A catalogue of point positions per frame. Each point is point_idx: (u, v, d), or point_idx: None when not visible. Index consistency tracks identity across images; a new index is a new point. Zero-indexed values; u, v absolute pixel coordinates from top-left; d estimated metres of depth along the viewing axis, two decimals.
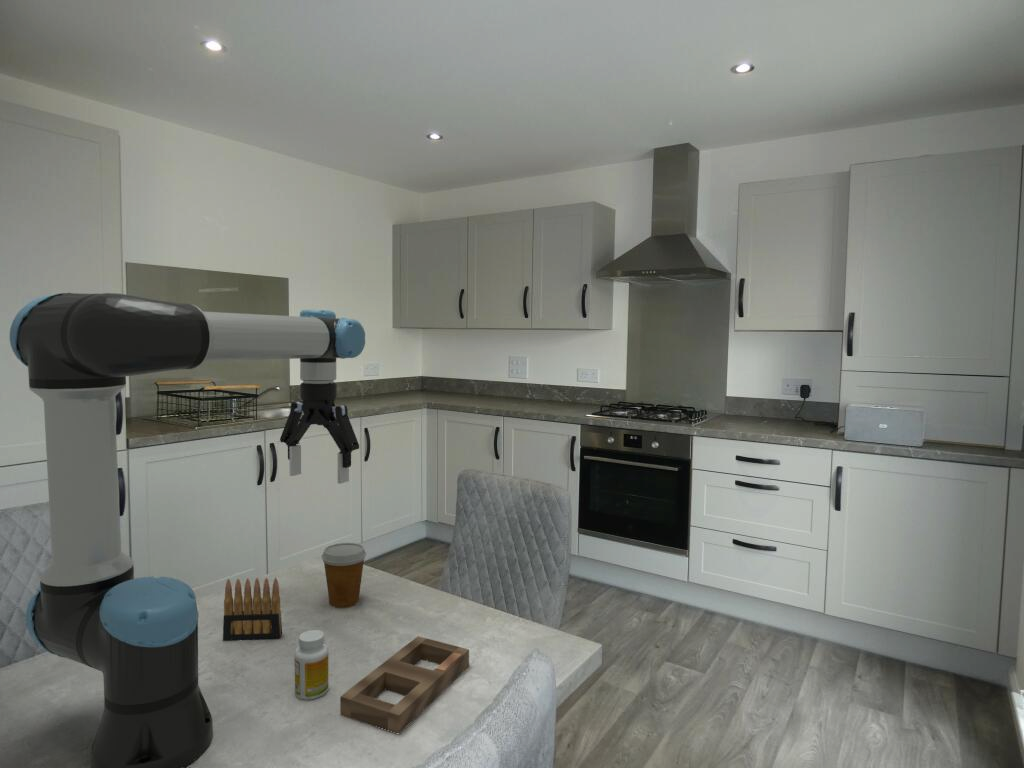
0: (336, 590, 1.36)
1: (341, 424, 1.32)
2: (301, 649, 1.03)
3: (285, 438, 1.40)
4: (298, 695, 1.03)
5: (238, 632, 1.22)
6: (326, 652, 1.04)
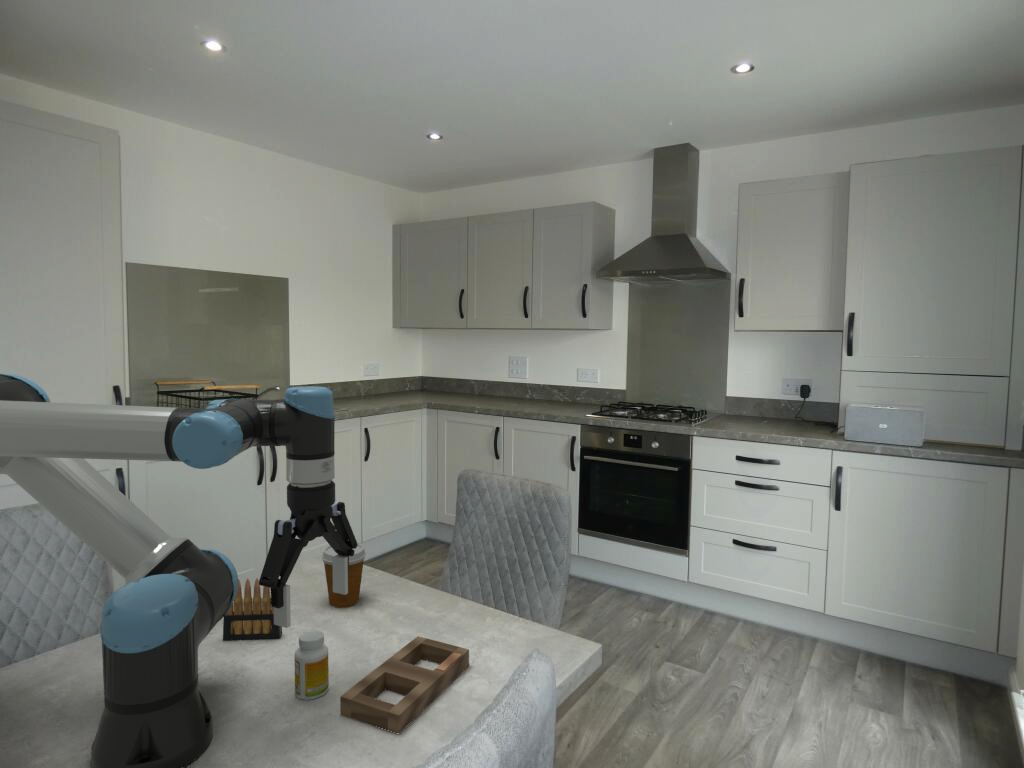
0: None
1: None
2: (301, 649, 1.03)
3: None
4: (298, 695, 1.03)
5: (238, 632, 1.22)
6: (326, 652, 1.04)
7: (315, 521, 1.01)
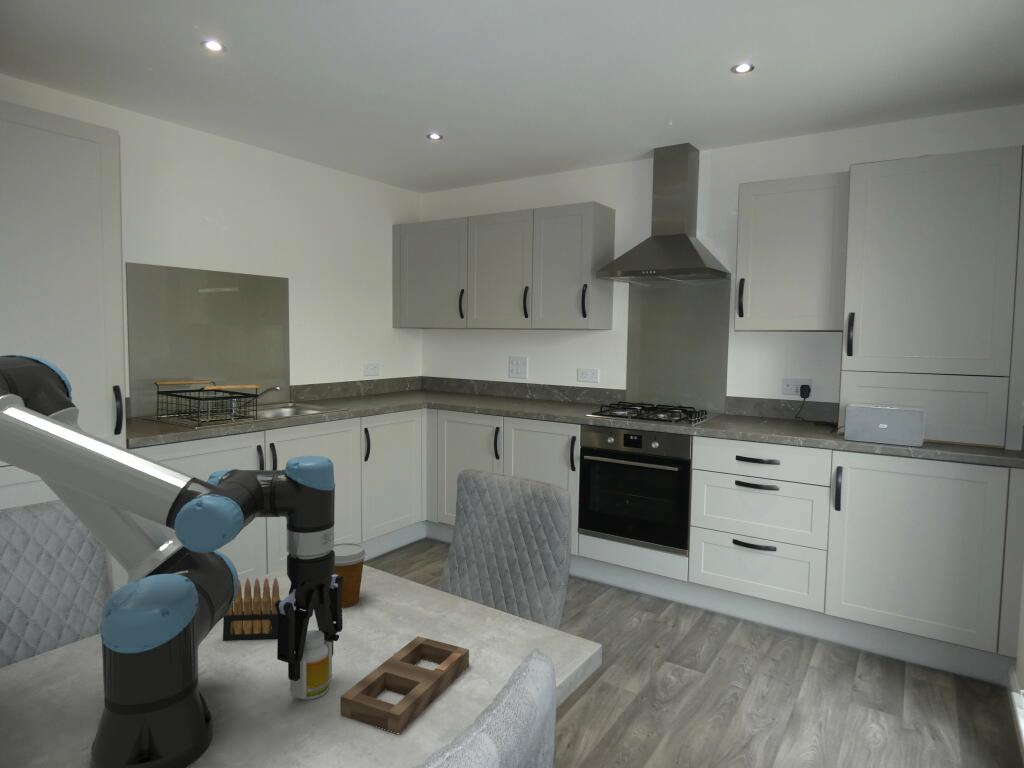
0: None
1: None
2: None
3: None
4: None
5: (238, 632, 1.22)
6: (326, 652, 1.04)
7: (314, 592, 1.01)
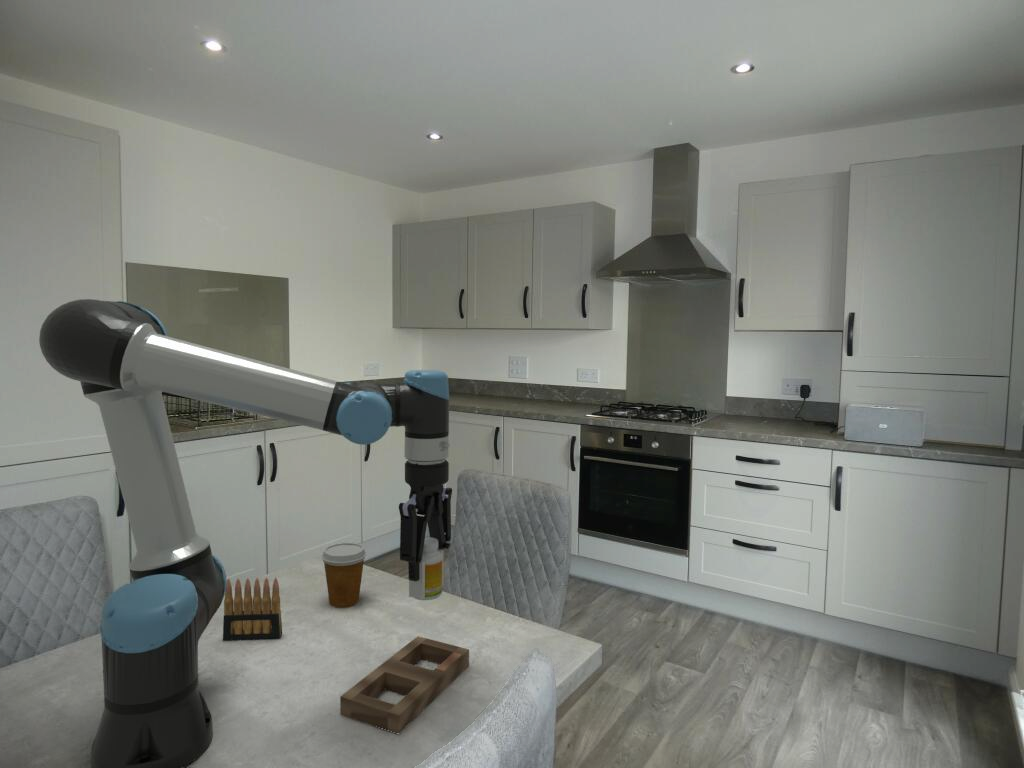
0: (336, 590, 1.36)
1: None
2: None
3: None
4: None
5: (238, 632, 1.22)
6: (441, 556, 1.09)
7: (431, 497, 1.07)
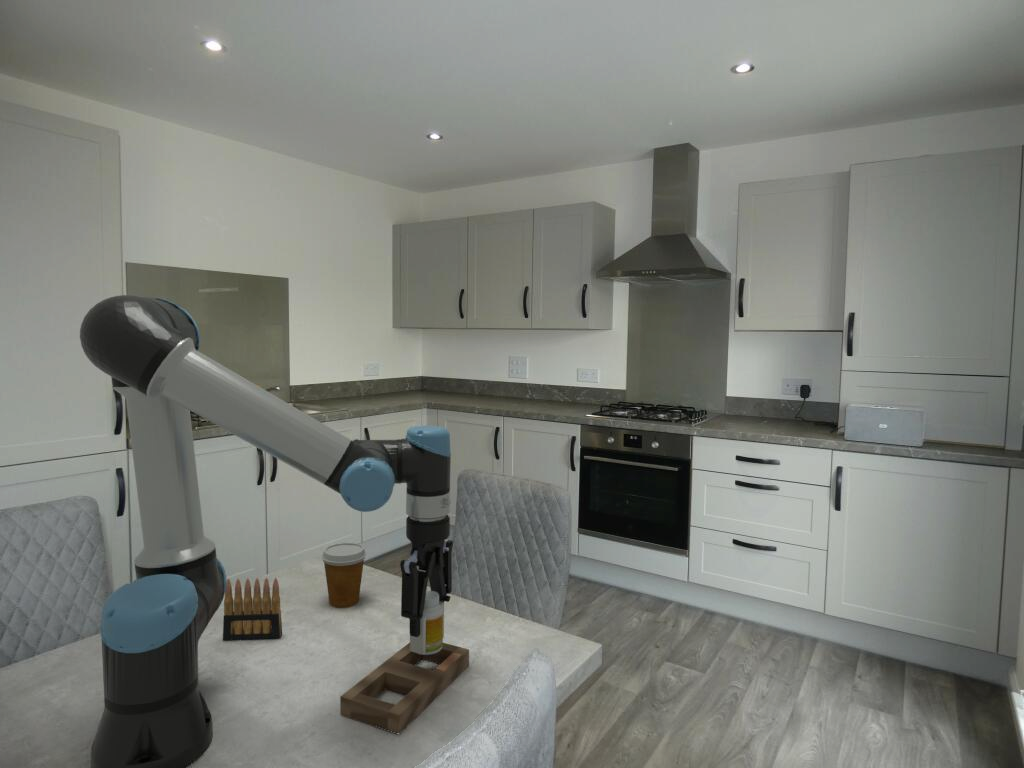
0: (336, 590, 1.36)
1: None
2: None
3: None
4: None
5: (238, 632, 1.22)
6: (442, 611, 1.10)
7: (433, 553, 1.07)
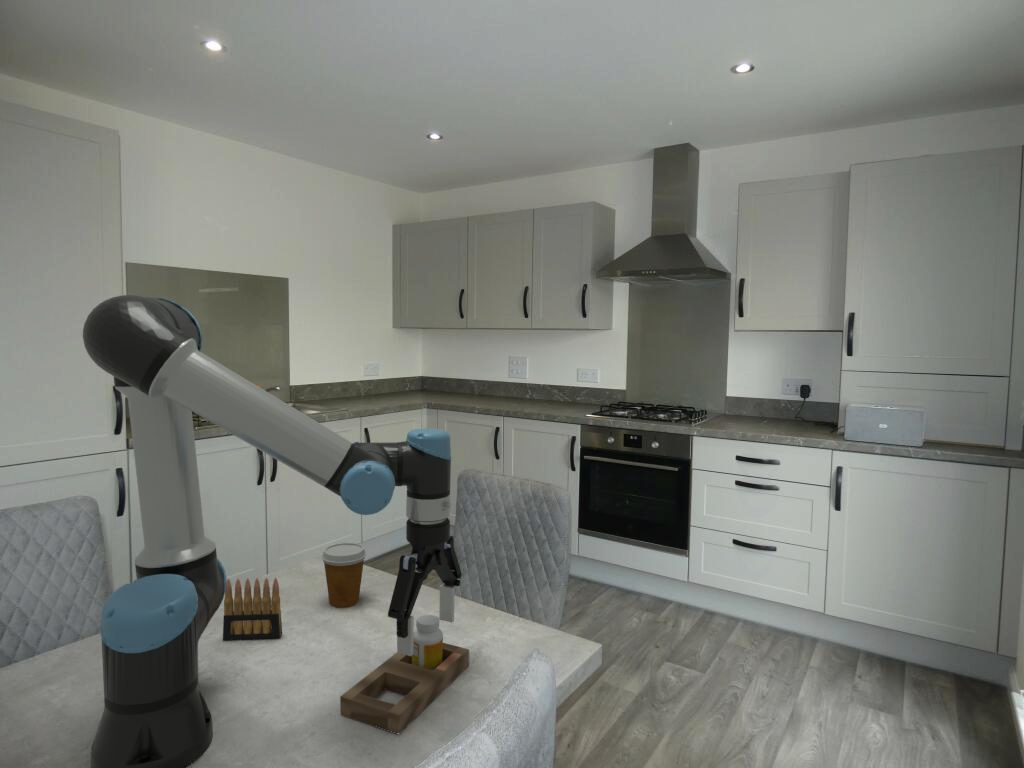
0: (336, 590, 1.36)
1: None
2: (419, 632, 1.10)
3: None
4: None
5: (238, 632, 1.22)
6: (442, 635, 1.11)
7: (433, 555, 1.08)
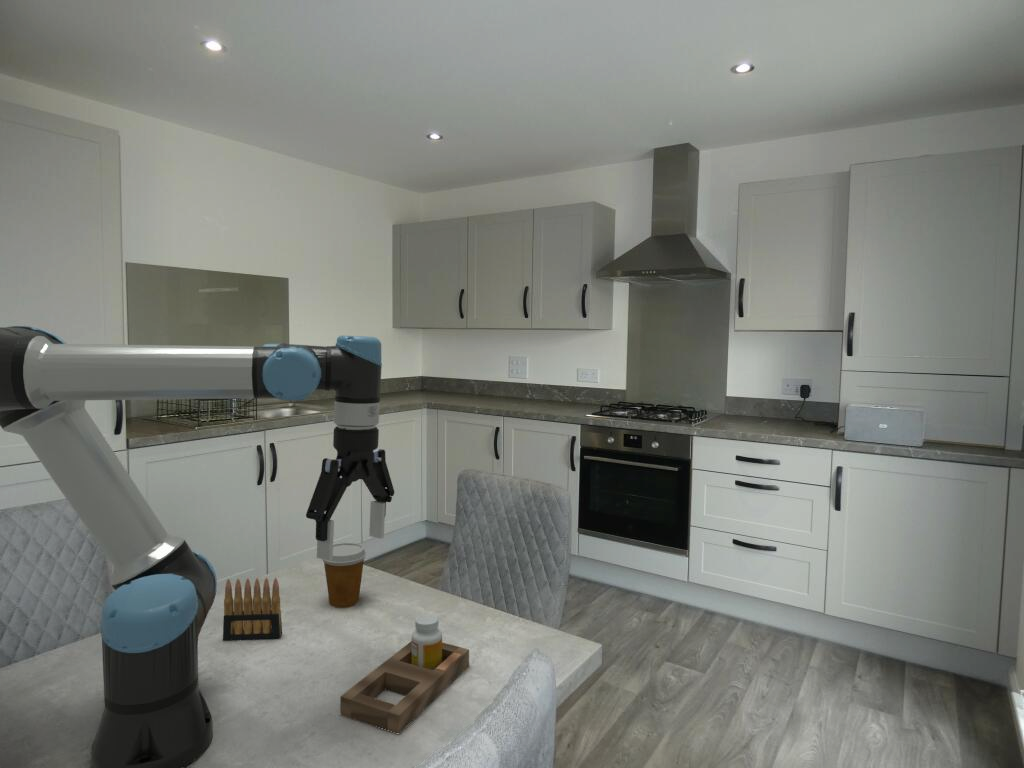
0: (336, 590, 1.36)
1: None
2: (418, 632, 1.10)
3: None
4: None
5: (238, 632, 1.22)
6: (441, 635, 1.11)
7: (359, 463, 1.06)
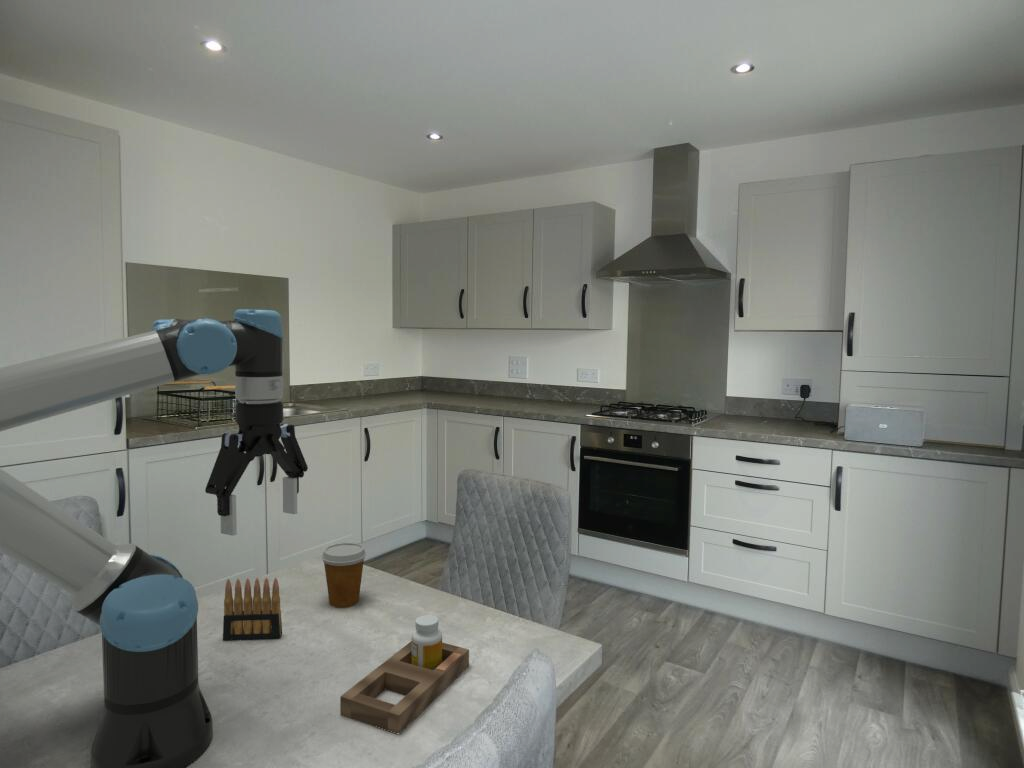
0: (336, 590, 1.36)
1: None
2: (418, 632, 1.10)
3: None
4: None
5: (238, 632, 1.22)
6: (441, 635, 1.11)
7: (262, 437, 1.05)
